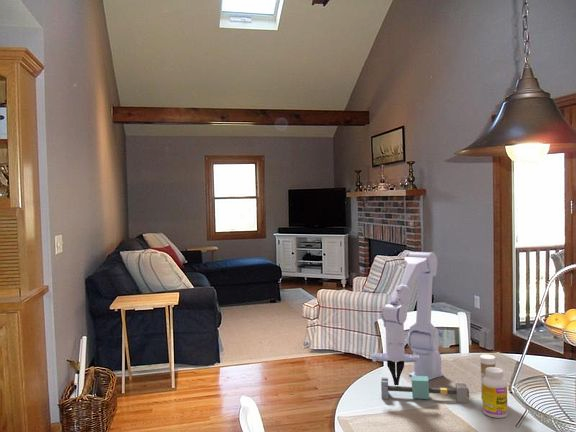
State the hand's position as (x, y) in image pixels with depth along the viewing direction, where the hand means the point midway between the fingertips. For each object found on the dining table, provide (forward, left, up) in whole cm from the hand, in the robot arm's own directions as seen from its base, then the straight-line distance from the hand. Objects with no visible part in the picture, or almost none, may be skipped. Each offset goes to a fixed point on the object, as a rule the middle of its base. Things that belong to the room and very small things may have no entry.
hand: (396, 384), depth 150 cm
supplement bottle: (-14, +25, -4) cm, 29 cm away
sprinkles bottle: (-21, +18, -4) cm, 28 cm away
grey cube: (-14, +14, -4) cm, 20 cm away
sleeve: (-5, +5, -4) cm, 8 cm away
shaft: (-6, +6, -2) cm, 9 cm away
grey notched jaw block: (+3, -3, -4) cm, 5 cm away
